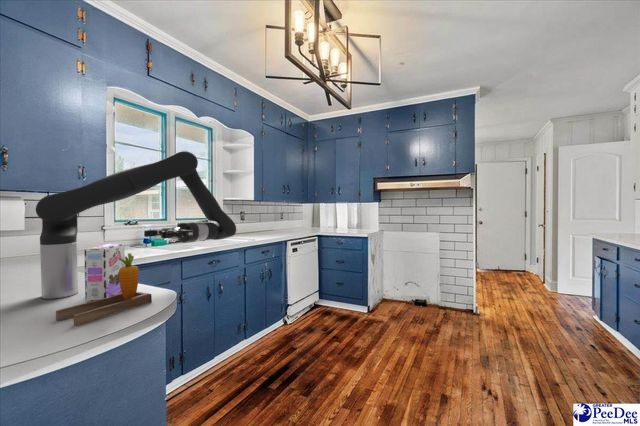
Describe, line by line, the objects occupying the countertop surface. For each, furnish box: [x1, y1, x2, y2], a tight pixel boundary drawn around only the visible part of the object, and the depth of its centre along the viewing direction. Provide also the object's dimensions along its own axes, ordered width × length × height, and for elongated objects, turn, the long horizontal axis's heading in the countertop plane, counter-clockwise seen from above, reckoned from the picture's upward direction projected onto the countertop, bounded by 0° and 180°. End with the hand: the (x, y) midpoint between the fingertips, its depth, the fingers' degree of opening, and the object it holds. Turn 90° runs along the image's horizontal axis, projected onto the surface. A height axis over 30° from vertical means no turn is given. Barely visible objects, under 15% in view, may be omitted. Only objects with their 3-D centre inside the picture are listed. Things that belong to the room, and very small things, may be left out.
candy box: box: [84, 243, 126, 303], centre depth 101 cm, size 14×6×16 cm, turn 9°
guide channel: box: [55, 291, 153, 327], centre depth 86 cm, size 9×20×3 cm, turn 155°
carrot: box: [119, 252, 140, 300], centre depth 91 cm, size 5×5×15 cm
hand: (153, 234), depth 102 cm, fingers open, 8 cm apart
